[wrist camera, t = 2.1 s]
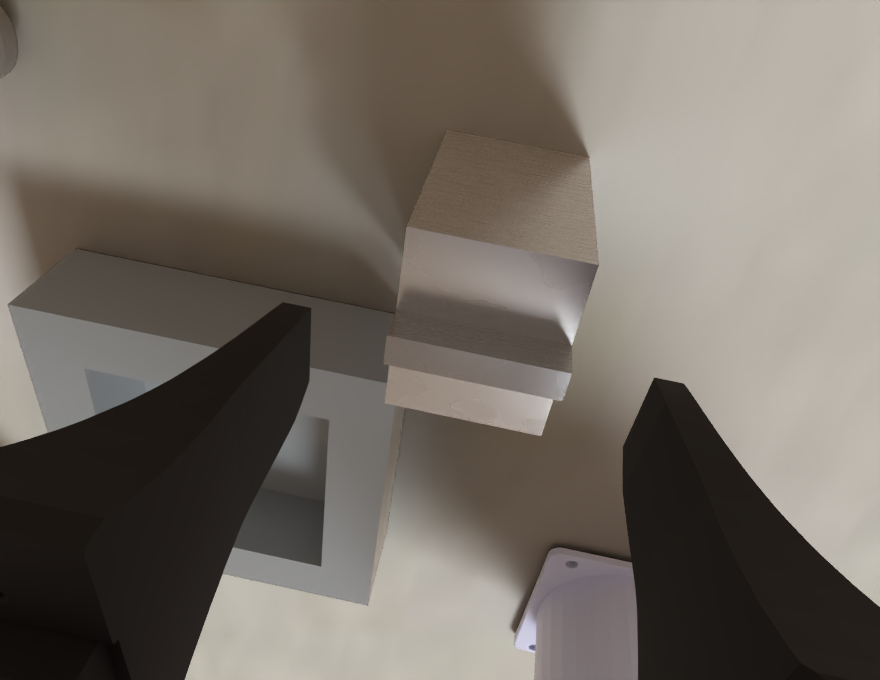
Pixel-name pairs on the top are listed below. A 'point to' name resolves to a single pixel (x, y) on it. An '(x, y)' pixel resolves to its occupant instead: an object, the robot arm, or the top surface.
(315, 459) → the well block
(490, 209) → the bracket
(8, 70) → the lightbulb
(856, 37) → the top surface
